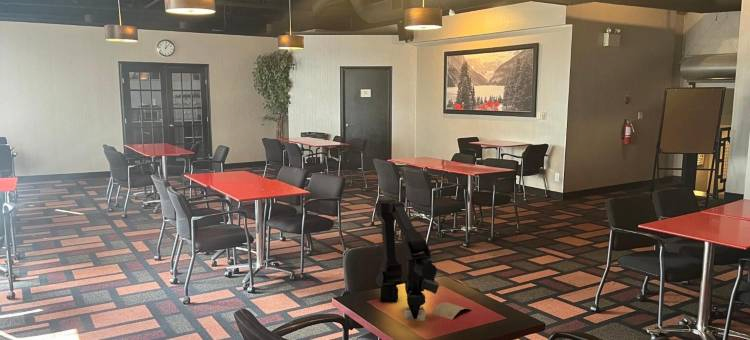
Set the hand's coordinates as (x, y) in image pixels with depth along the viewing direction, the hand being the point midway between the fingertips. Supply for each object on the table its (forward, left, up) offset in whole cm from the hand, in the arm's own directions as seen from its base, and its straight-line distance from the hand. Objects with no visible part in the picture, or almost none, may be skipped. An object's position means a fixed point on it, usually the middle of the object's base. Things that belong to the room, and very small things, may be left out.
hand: (414, 314), depth 210 cm
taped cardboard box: (0, 0, -2) cm, 2 cm away
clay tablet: (+14, +6, -2) cm, 16 cm away
